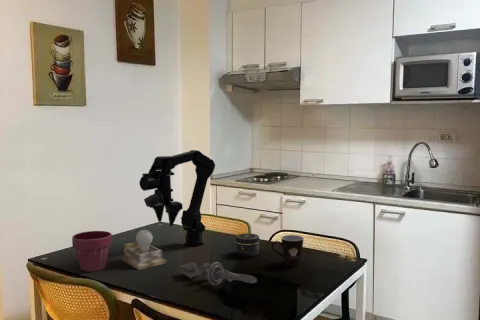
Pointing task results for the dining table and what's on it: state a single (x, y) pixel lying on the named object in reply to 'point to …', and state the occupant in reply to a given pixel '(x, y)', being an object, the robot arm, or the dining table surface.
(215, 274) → the spaceship
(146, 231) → the lightbulb
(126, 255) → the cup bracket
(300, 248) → the coffee mug
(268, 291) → the dining table surface
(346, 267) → the dining table surface
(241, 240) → the jar
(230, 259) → the dining table surface
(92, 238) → the plant pot
